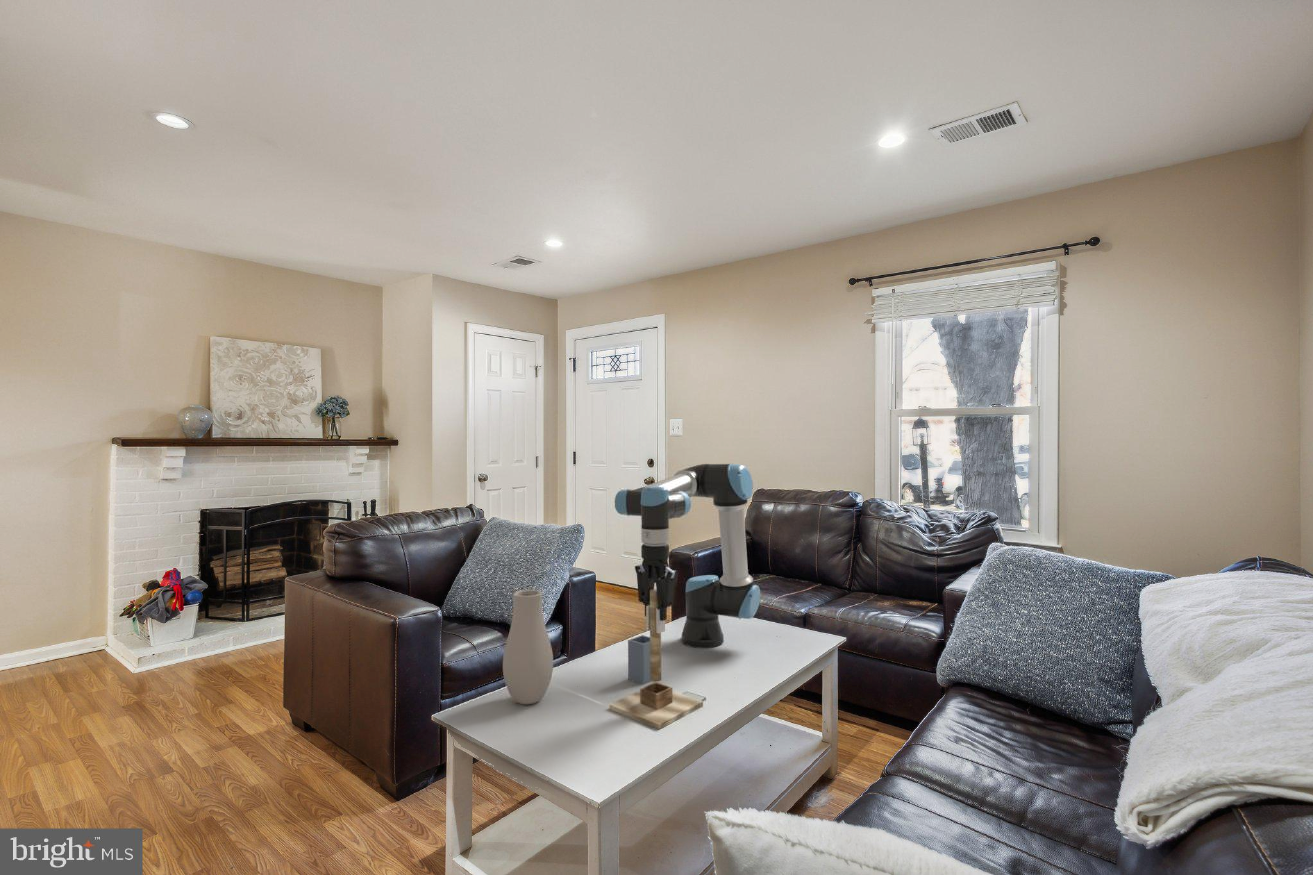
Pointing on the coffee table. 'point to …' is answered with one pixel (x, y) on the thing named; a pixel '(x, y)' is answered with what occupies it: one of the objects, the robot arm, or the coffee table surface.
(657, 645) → the dowel
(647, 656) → the grey square tube
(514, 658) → the vase
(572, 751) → the coffee table surface
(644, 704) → the board with square socket
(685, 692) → the smartphone
